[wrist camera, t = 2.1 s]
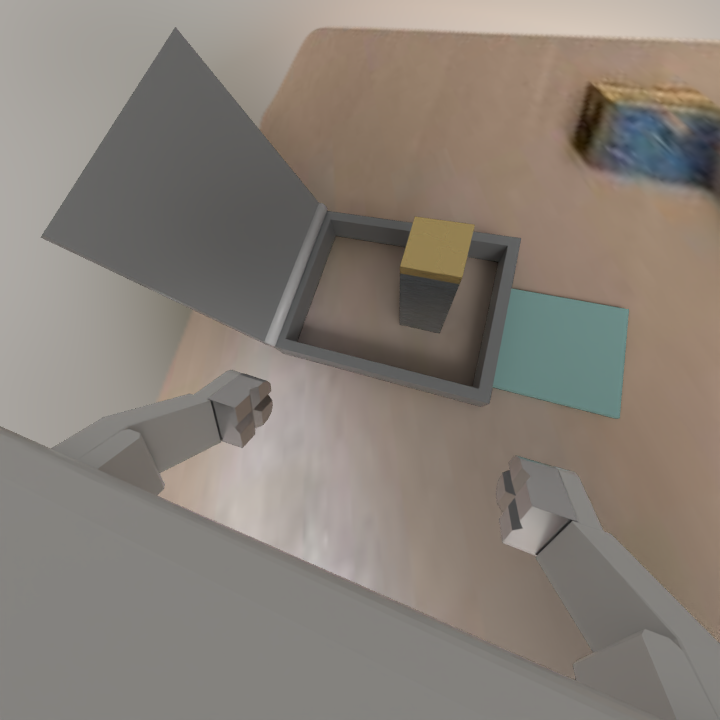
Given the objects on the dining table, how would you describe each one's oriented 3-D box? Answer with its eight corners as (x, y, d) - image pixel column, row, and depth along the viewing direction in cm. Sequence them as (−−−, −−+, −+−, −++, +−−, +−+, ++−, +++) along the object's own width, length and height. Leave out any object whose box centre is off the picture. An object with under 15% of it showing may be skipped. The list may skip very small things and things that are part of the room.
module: (448, 297, 27) (474, 224, 18) (439, 333, 26) (462, 277, 17) (409, 290, 28) (414, 216, 18) (399, 324, 27) (399, 266, 18)
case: (510, 255, 27) (659, 18, 12) (480, 406, 24) (632, 359, 8) (277, 219, 33) (166, 27, 17) (226, 337, 30) (32, 232, 14)
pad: (625, 311, 24) (628, 309, 24) (615, 418, 22) (619, 418, 22) (509, 290, 26) (510, 288, 26) (490, 386, 24) (491, 386, 24)
